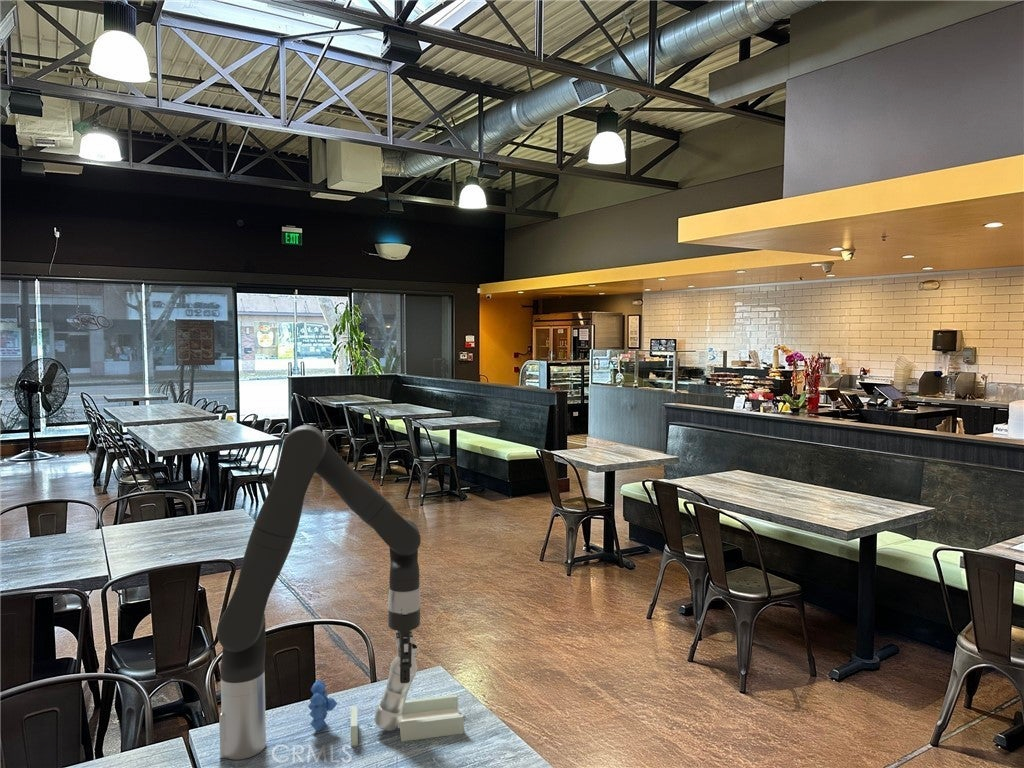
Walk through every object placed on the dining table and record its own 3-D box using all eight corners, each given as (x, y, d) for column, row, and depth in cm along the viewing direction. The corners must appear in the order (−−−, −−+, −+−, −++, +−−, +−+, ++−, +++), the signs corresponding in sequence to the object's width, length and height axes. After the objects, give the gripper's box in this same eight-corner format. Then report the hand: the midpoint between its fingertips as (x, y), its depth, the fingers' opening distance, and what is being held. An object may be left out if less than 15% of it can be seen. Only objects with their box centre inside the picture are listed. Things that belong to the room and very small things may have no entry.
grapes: (336, 741, 156) (335, 690, 156) (305, 744, 155) (304, 693, 155) (339, 715, 168) (338, 667, 167) (310, 718, 167) (309, 670, 166)
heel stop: (350, 745, 155) (350, 726, 155) (351, 724, 163) (350, 706, 163) (357, 744, 155) (357, 725, 155) (357, 724, 164) (357, 705, 164)
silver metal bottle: (366, 723, 160) (391, 642, 160) (384, 716, 165) (408, 637, 166) (386, 737, 156) (412, 654, 157) (404, 729, 162) (429, 648, 163)
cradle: (401, 741, 156) (400, 724, 156) (398, 717, 167) (398, 701, 167) (463, 733, 159) (463, 716, 159) (457, 710, 170) (456, 694, 170)
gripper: (386, 596, 167) (386, 663, 167) (389, 618, 153) (389, 691, 153) (417, 594, 169) (417, 661, 169) (423, 616, 155) (422, 688, 155)
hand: (403, 675), depth 161 cm, fingers closed on silver metal bottle, 6 cm apart
